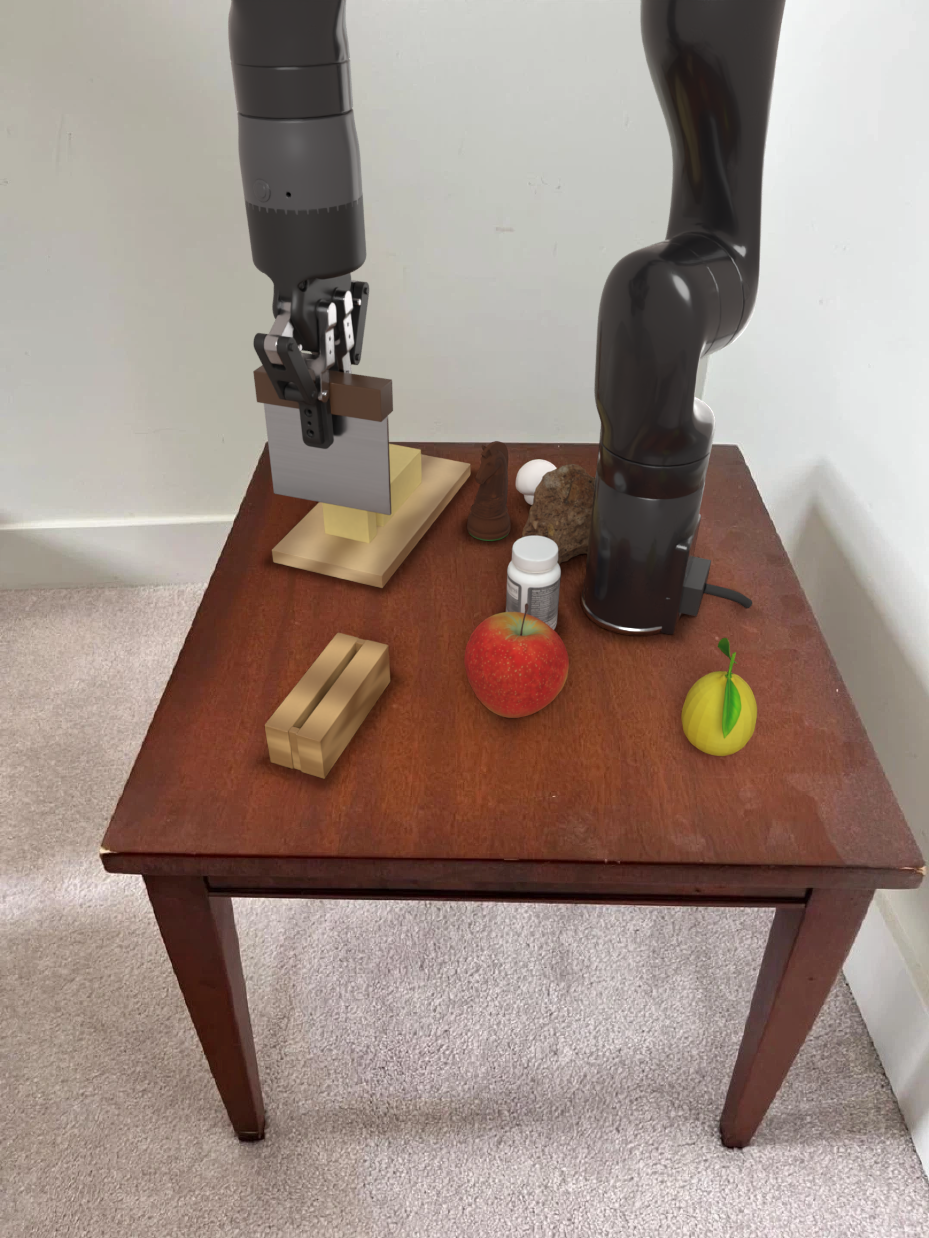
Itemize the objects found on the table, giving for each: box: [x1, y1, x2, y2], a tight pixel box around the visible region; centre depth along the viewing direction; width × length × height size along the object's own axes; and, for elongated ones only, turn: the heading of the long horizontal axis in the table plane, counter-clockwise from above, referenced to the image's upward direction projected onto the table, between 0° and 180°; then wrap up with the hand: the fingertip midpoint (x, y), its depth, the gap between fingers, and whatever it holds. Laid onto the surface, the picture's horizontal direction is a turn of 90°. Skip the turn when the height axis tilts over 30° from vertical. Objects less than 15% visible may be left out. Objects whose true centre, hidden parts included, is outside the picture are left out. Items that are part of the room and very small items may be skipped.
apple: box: [463, 603, 570, 719], centre depth 75 cm, size 8×8×10 cm
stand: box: [264, 632, 391, 780], centre depth 75 cm, size 12×5×4 cm, turn 159°
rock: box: [521, 463, 596, 566], centre depth 93 cm, size 10×6×10 cm
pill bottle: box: [505, 536, 562, 631], centre depth 84 cm, size 5×5×8 cm
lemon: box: [680, 637, 758, 757], centre depth 71 cm, size 7×6×10 cm
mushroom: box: [515, 459, 558, 506], centre depth 102 cm, size 5×5×5 cm
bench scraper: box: [252, 364, 394, 515], centre depth 71 cm, size 10×2×10 cm, turn 71°
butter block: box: [376, 443, 422, 527], centre depth 100 cm, size 5×10×4 cm, turn 159°
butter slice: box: [322, 503, 377, 543], centre depth 94 cm, size 5×2×4 cm, turn 69°
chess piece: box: [466, 440, 512, 542], centre depth 96 cm, size 5×5×10 cm
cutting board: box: [271, 453, 471, 589], centre depth 101 cm, size 12×24×2 cm, turn 159°
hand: (327, 436), depth 71 cm, fingers closed on bench scraper, 2 cm apart
